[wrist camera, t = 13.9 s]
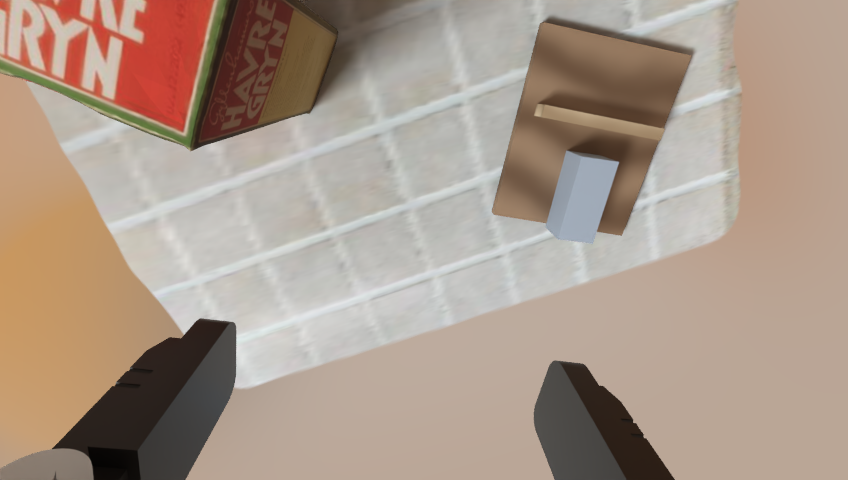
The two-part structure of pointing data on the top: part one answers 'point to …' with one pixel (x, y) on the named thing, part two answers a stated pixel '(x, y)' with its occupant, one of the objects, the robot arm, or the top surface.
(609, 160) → the block
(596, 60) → the board
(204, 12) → the food packaging
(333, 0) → the top surface
